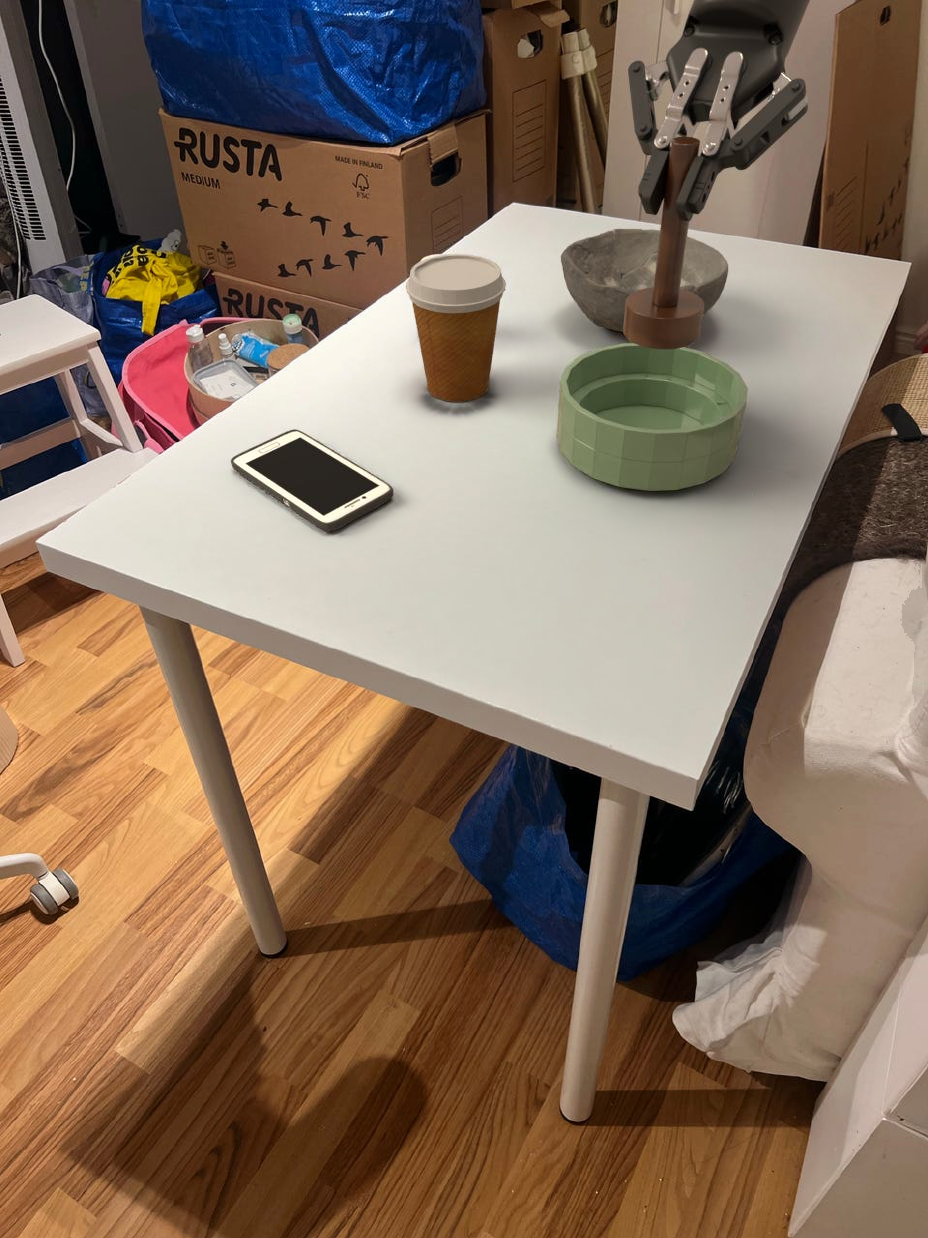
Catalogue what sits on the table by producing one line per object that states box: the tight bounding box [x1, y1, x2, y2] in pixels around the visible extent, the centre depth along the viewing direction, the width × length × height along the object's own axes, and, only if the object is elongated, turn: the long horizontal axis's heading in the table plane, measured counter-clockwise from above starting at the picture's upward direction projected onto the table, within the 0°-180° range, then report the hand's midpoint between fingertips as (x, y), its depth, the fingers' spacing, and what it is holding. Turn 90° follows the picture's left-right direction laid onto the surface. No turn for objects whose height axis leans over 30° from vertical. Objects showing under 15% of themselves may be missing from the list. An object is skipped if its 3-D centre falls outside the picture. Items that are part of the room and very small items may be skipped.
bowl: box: [560, 228, 729, 333], centre depth 101 cm, size 18×18×8 cm
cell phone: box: [230, 428, 394, 532], centre depth 81 cm, size 8×15×1 cm, turn 44°
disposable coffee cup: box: [405, 253, 507, 403], centre depth 90 cm, size 10×10×12 cm
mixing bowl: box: [556, 342, 749, 492], centre depth 83 cm, size 16×16×6 cm
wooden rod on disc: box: [622, 136, 704, 349], centre depth 68 cm, size 6×6×14 cm
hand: (665, 210), depth 65 cm, fingers closed on wooden rod on disc
